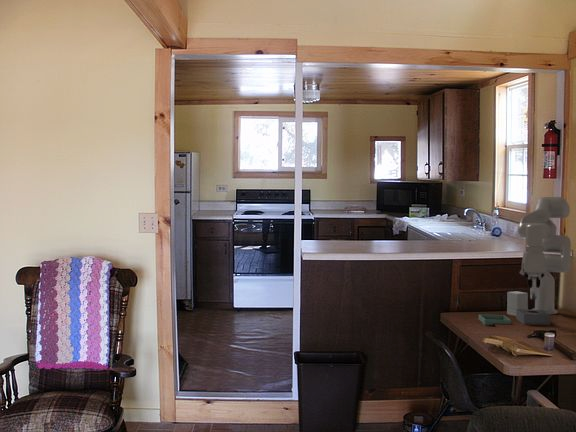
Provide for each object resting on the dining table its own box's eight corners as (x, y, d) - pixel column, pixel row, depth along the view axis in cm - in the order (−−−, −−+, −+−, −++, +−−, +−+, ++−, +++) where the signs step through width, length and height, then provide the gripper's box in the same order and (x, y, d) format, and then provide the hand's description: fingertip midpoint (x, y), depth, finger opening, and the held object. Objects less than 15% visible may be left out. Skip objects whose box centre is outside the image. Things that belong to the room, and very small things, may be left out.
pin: (527, 297, 271) (527, 273, 271) (536, 297, 271) (536, 273, 270) (530, 299, 267) (530, 274, 266) (539, 299, 266) (540, 274, 266)
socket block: (516, 321, 275) (516, 309, 275) (541, 321, 274) (541, 309, 274) (524, 326, 263) (524, 314, 263) (550, 327, 262) (550, 314, 262)
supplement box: (528, 317, 285) (528, 293, 284) (517, 318, 282) (517, 293, 282) (517, 314, 292) (517, 290, 291) (506, 315, 289) (506, 291, 289)
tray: (478, 320, 278) (478, 314, 278) (503, 320, 276) (503, 315, 276) (484, 325, 266) (484, 319, 266) (511, 326, 264) (511, 320, 264)
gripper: (548, 248, 271) (548, 286, 272) (514, 248, 272) (513, 285, 273) (554, 250, 263) (554, 288, 264) (518, 250, 265) (518, 288, 266)
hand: (533, 286), depth 269 cm, fingers closed on pin, 3 cm apart
